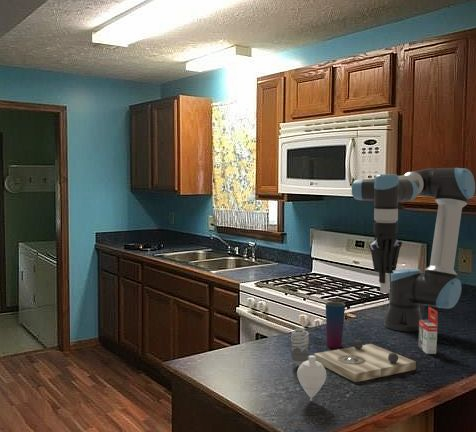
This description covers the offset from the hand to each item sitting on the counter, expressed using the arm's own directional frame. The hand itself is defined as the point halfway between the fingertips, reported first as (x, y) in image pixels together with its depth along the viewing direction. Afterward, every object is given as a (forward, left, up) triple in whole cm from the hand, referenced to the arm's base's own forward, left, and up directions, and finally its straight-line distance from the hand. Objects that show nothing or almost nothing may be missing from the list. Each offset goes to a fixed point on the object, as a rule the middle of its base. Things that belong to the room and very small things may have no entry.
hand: (384, 292), depth 177 cm
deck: (+12, +4, -21) cm, 25 cm away
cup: (+8, -16, -22) cm, 28 cm away
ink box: (-18, +2, -22) cm, 28 cm away
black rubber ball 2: (+7, +12, -17) cm, 22 cm away
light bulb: (+31, -4, -22) cm, 38 cm away
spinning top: (+43, +19, -22) cm, 52 cm away
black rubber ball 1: (+8, -3, -17) cm, 19 cm away
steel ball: (+17, +4, -20) cm, 27 cm away
